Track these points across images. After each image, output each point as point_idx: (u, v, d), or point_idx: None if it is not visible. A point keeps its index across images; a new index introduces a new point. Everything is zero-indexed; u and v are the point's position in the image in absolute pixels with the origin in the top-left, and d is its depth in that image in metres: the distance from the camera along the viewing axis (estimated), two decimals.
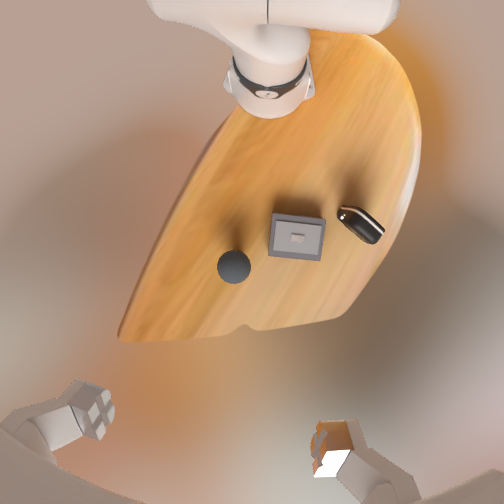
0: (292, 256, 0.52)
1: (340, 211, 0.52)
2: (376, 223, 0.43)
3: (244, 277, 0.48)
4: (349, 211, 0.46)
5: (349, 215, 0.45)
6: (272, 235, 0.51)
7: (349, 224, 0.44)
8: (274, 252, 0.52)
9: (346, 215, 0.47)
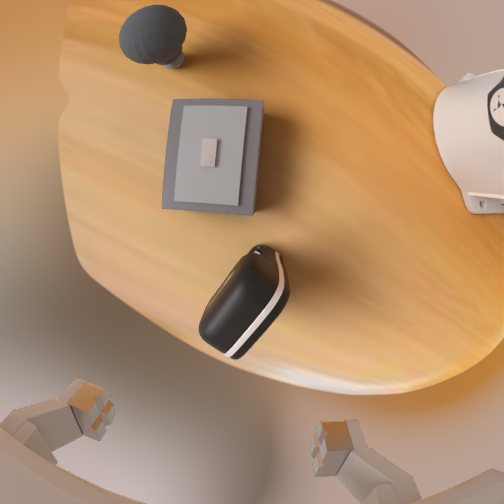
0: (170, 146, 0.22)
1: (270, 251, 0.26)
2: (251, 340, 0.17)
3: (127, 47, 0.16)
4: (275, 268, 0.20)
5: (267, 268, 0.19)
6: (215, 102, 0.21)
7: (244, 268, 0.18)
8: (179, 109, 0.21)
9: (265, 261, 0.20)
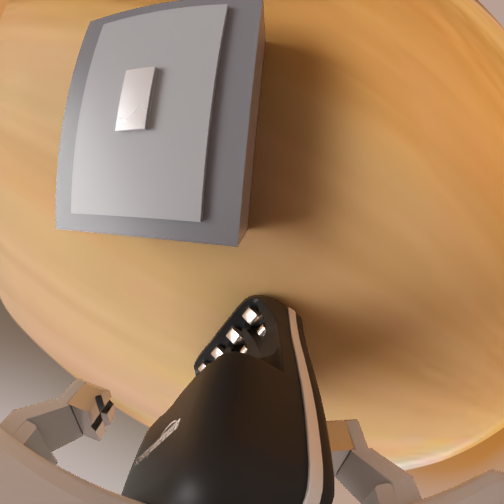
0: (71, 101, 0.08)
1: (278, 312, 0.12)
2: None
3: None
4: (296, 402, 0.07)
5: (274, 429, 0.05)
6: (162, 8, 0.07)
7: (198, 459, 0.04)
8: (96, 34, 0.08)
9: (270, 387, 0.07)
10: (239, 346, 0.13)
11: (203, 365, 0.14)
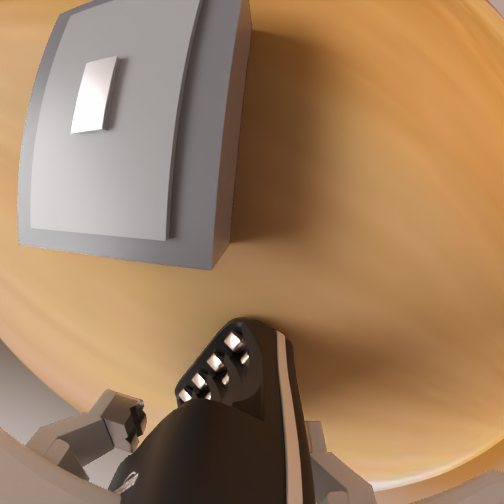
0: (33, 102, 0.07)
1: (264, 339, 0.11)
2: None
3: None
4: (276, 460, 0.05)
5: (244, 500, 0.03)
6: None
7: None
8: (64, 26, 0.06)
9: (243, 445, 0.05)
10: (222, 373, 0.12)
11: (184, 391, 0.12)
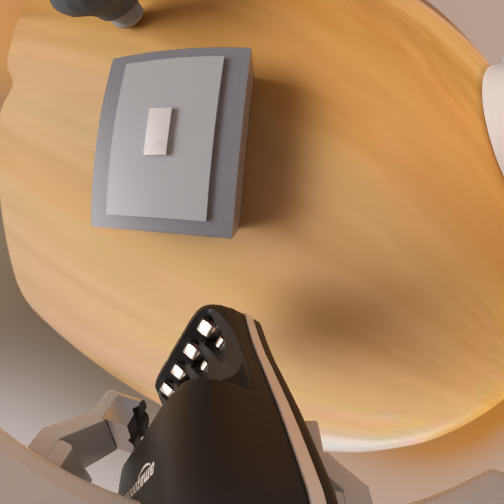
0: (103, 127, 0.12)
1: (235, 321, 0.11)
2: None
3: None
4: (276, 424, 0.06)
5: (261, 462, 0.04)
6: (174, 54, 0.11)
7: None
8: (120, 71, 0.12)
9: (244, 414, 0.06)
10: (199, 361, 0.12)
11: (164, 385, 0.12)
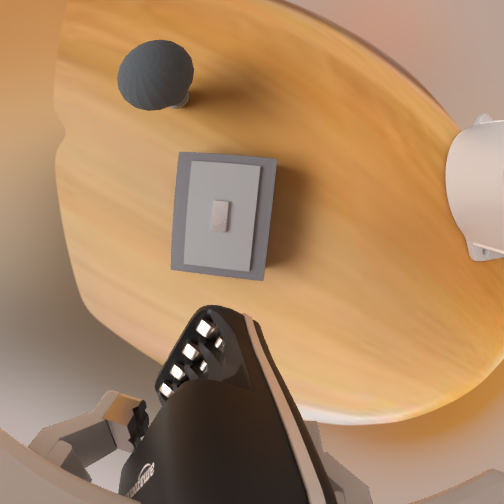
0: (177, 205, 0.22)
1: (234, 321, 0.11)
2: None
3: (127, 93, 0.16)
4: (275, 424, 0.06)
5: (261, 463, 0.04)
6: (225, 158, 0.21)
7: None
8: (186, 164, 0.21)
9: (244, 414, 0.06)
10: (198, 361, 0.12)
11: (164, 385, 0.12)
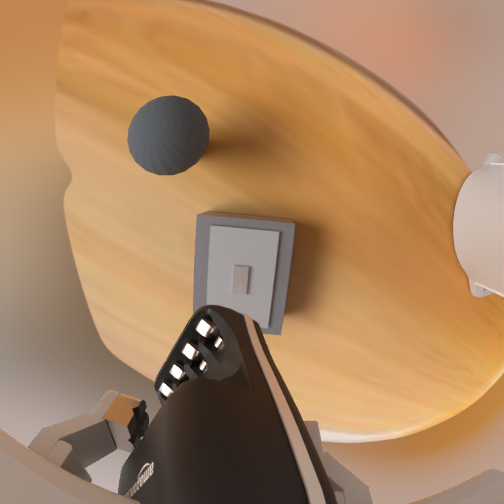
0: (198, 267, 0.23)
1: (233, 321, 0.11)
2: None
3: (140, 161, 0.17)
4: (275, 424, 0.06)
5: (260, 462, 0.04)
6: (244, 223, 0.22)
7: None
8: (205, 227, 0.22)
9: (243, 414, 0.06)
10: (198, 361, 0.12)
11: (163, 385, 0.12)
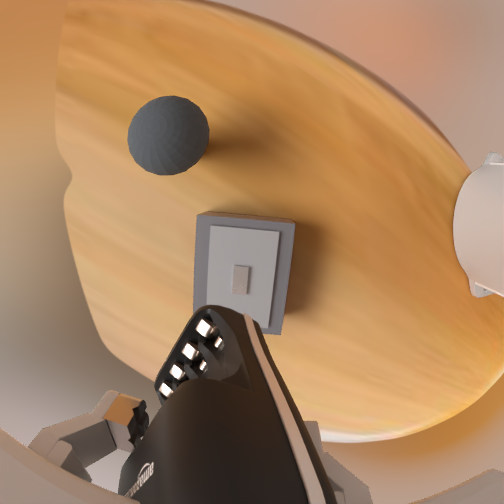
0: (198, 267, 0.23)
1: (233, 321, 0.11)
2: None
3: (140, 161, 0.17)
4: (275, 424, 0.06)
5: (260, 462, 0.04)
6: (244, 223, 0.22)
7: None
8: (205, 227, 0.22)
9: (243, 414, 0.06)
10: (198, 361, 0.12)
11: (163, 385, 0.12)
